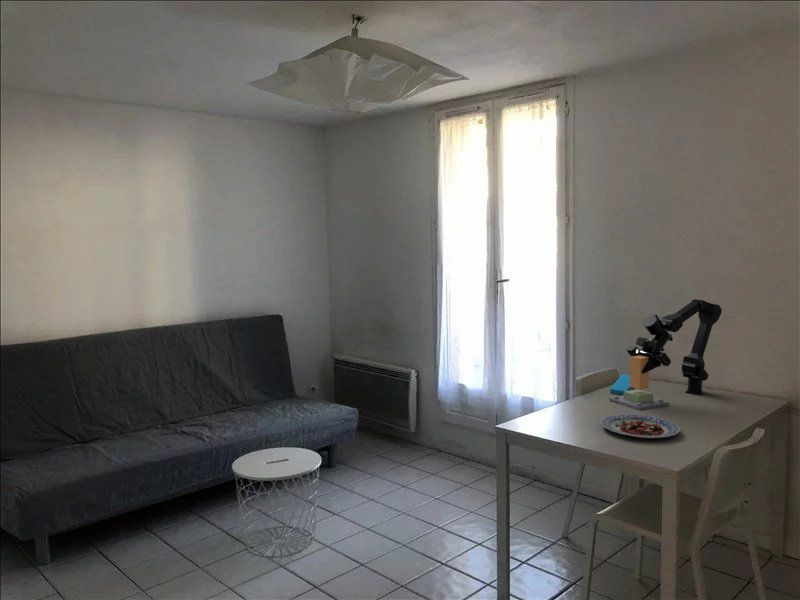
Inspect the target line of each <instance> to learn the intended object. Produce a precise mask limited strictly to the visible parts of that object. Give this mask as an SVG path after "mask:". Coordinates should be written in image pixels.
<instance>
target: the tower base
mask: <svg viewBox="0 0 800 600" xmlns="http://www.w3.org/2000/svg"><path fill="white" fill-rule="evenodd" d="M654 396H655V395H654V393H652V392H649V391H647V390H646V391H645V390H644V389H640V390H639V389H632V390H630V391H624V395H613V396H611V397H609V398H608V401H609V400H610V401H609V402H612V401H613V403H615V402H617V403H616V404H618V403H619V404H618V405H621V404H623V405H622V406H625V405H626V407H628V406H629V407H628V408H631V407H632V409H634V408H636V409H635V410H637V409H639V410H638V411H641V409H643V410H647V409H648V410H649V409H653V408H658V407H664V406H669V401H667V400H664V399H663V398H657V397H654Z"/></svg>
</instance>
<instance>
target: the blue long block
mask: <svg viewBox="0 0 800 600" xmlns="http://www.w3.org/2000/svg"><path fill="white" fill-rule="evenodd" d="M630 390H634V388H632V387H630V374H625V373H624V374H623V373H622V374H621V375H620V377H618V379H617V380H616V381H615V382H614V384H613V385H612V386H610V388H609V394H612V393H613V395H618V394H620V395H619V396H622V395H624V391H630Z"/></svg>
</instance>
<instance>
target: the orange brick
mask: <svg viewBox="0 0 800 600" xmlns="http://www.w3.org/2000/svg"><path fill="white" fill-rule="evenodd" d="M648 359H649V357H644V356H640V355H639V356H632V357H631V356H630V365H629V366H630V367H629V369H630V371H629V372H630V373H629V375H630V387H632V388H633V389H634V390H636V389H639V390H644V389H649V385H650V383H649V381H650V379H649V377H650V371H648V372H646V373H644V374H642V370H643V368H644V367H645V365H646V364H647V362H648Z"/></svg>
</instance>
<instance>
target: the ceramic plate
mask: <svg viewBox="0 0 800 600" xmlns="http://www.w3.org/2000/svg"><path fill="white" fill-rule="evenodd" d="M601 425H602V426H603V427H604V428H605V429H607V430H609V431H610V432H613V433H617V434H620V435H624V436H626V435H628V436H627V437H631V436H632V437H633V438H637V437H638V439H659V438H668V437H673V436H675V435H677V434H679V433H680V431H681V428H680V427H679V426H678V425H677V424H676V423H674V422H672V421H670V420H667V419H664V418H660V417H656V416H652V415H651V416H649V415H642V414H629V413H627V414H616V415H610V416H607V417H604V418H603V419H601Z"/></svg>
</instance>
